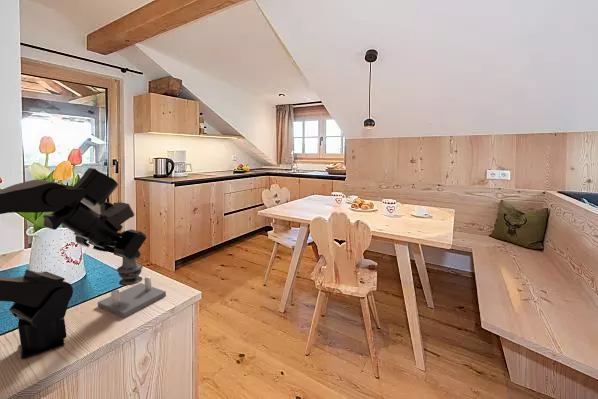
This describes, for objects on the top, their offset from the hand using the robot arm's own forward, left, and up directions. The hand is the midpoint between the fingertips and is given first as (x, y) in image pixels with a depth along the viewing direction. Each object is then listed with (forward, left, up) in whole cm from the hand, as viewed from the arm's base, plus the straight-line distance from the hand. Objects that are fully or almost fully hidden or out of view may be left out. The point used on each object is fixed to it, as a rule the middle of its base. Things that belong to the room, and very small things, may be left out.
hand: (134, 254), depth 77 cm
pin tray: (-1, -1, -12) cm, 12 cm away
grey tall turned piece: (-1, -1, -7) cm, 7 cm away
